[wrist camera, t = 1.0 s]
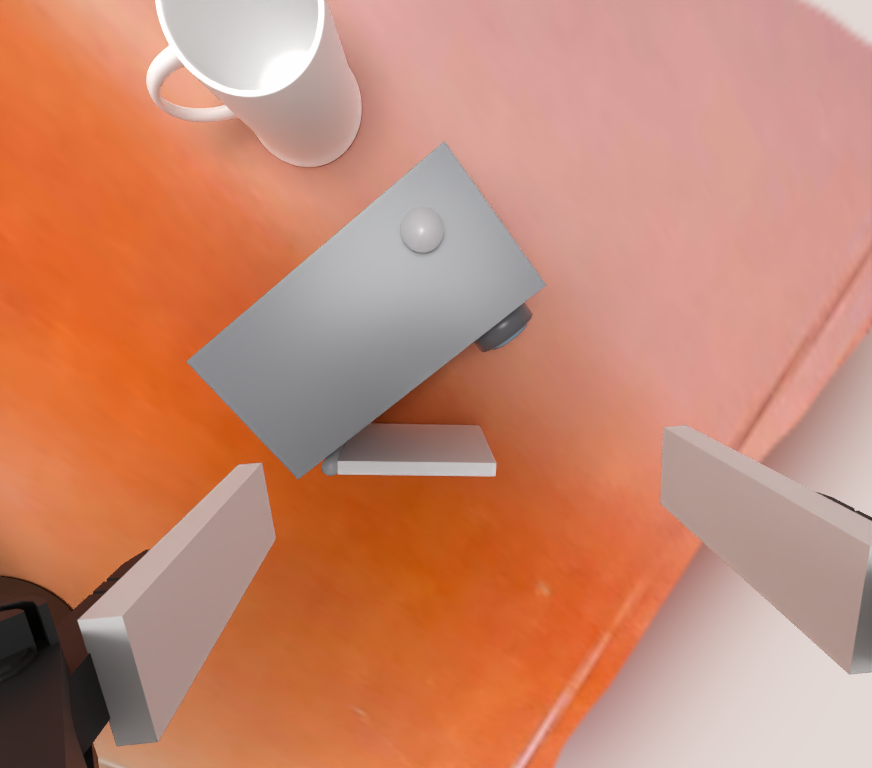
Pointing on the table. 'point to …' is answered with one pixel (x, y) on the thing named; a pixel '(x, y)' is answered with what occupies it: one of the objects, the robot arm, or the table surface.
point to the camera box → (372, 314)
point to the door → (413, 451)
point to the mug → (264, 72)
